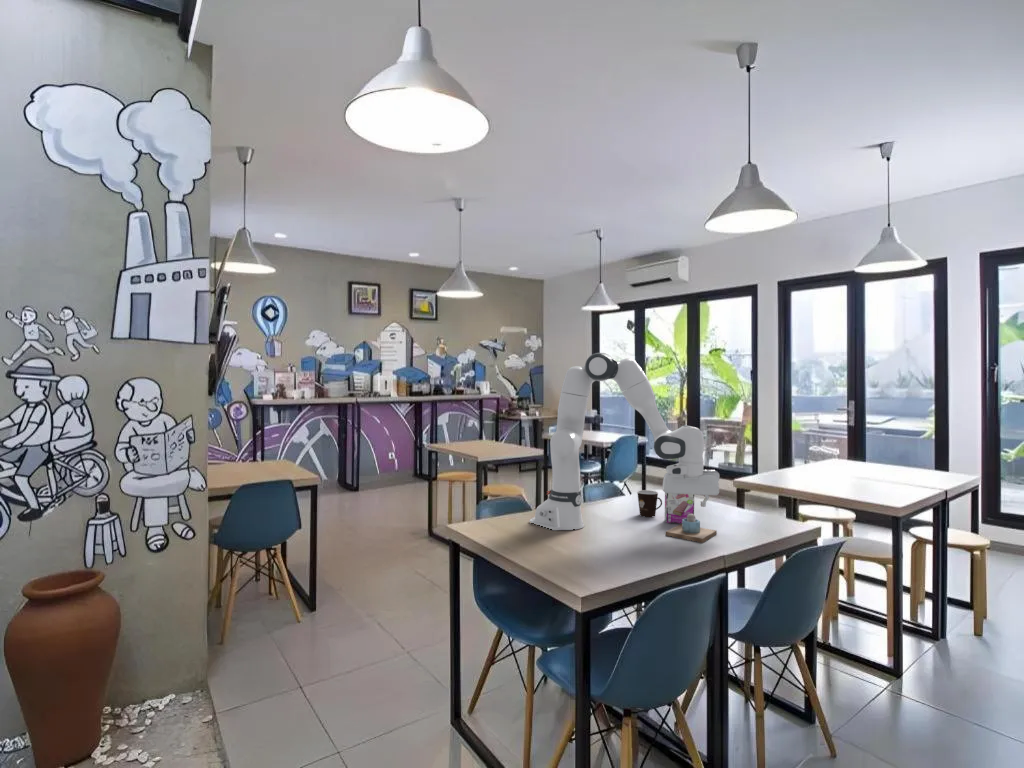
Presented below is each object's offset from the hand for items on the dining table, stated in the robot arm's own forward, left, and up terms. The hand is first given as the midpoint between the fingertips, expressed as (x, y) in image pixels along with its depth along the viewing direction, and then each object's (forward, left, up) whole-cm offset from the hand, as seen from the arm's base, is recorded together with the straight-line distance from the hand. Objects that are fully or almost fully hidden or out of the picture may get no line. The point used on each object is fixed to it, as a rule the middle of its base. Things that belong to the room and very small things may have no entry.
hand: (690, 505), depth 201 cm
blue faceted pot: (0, 0, -9) cm, 9 cm away
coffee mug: (-25, +16, -11) cm, 32 cm away
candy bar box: (-11, +15, -11) cm, 22 cm away
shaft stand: (0, 0, -11) cm, 11 cm away
